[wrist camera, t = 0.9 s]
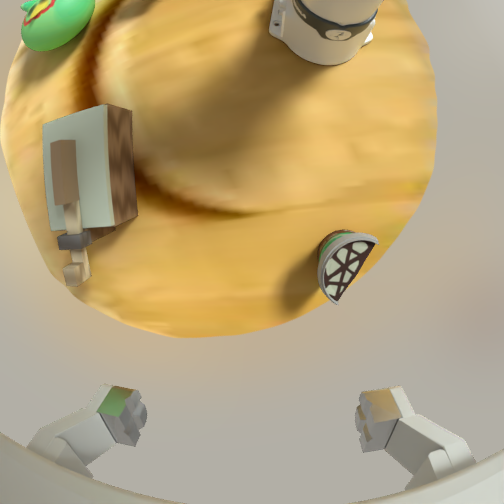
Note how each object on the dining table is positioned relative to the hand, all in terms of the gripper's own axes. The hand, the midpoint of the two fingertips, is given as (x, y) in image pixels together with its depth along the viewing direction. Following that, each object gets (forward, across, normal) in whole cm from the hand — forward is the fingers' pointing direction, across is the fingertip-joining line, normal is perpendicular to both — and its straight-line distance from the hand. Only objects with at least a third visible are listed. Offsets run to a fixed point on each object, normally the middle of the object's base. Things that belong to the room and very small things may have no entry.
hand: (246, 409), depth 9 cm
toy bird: (+42, +40, -48) cm, 75 cm away
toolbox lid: (+33, +30, -11) cm, 46 cm away
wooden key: (+32, +31, 0) cm, 44 cm away
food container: (+42, -11, +6) cm, 44 cm away
